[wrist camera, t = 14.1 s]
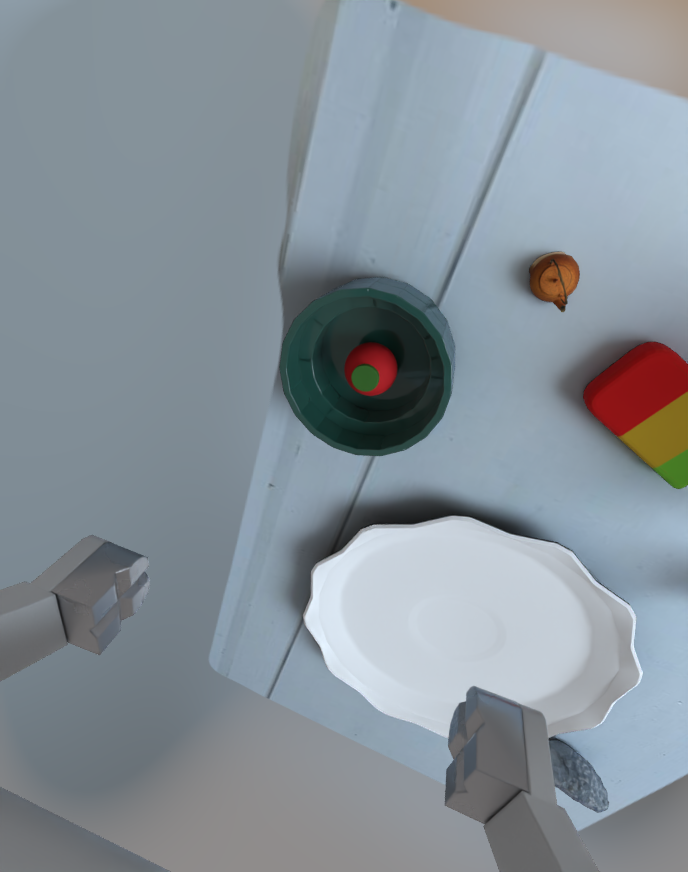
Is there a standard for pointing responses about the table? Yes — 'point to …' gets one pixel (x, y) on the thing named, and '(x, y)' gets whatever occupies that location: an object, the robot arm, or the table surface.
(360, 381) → the strawberry
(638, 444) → the popsicle
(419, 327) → the bowl
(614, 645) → the plate
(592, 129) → the table surface
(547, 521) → the table surface
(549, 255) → the teapot
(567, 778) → the grey rock
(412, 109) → the table surface
